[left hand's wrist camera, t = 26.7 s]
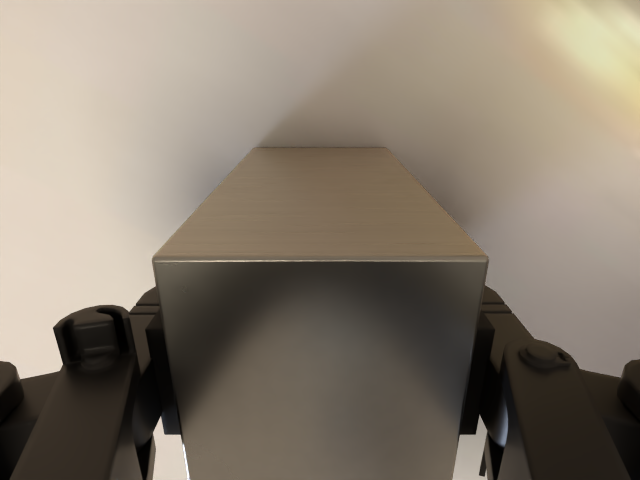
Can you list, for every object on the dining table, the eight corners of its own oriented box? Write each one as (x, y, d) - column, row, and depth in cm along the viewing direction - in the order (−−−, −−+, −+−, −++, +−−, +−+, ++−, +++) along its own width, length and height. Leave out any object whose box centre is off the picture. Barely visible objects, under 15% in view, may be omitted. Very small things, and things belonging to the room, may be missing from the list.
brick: (252, 147, 16) (149, 257, 6) (387, 147, 16) (491, 257, 6) (261, 294, 19) (196, 538, 9) (378, 294, 19) (444, 538, 9)
